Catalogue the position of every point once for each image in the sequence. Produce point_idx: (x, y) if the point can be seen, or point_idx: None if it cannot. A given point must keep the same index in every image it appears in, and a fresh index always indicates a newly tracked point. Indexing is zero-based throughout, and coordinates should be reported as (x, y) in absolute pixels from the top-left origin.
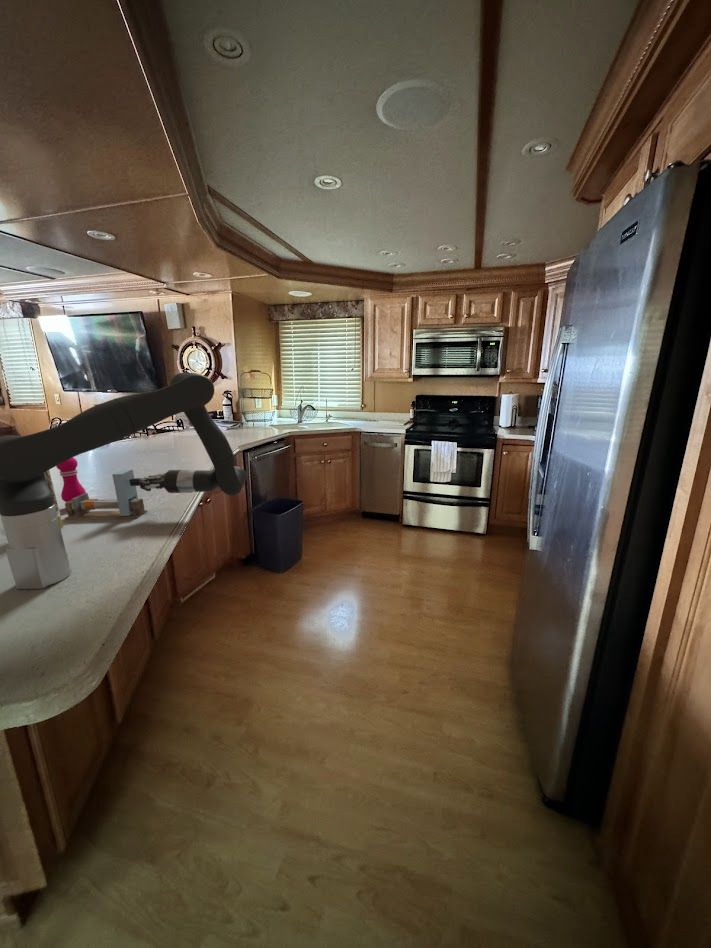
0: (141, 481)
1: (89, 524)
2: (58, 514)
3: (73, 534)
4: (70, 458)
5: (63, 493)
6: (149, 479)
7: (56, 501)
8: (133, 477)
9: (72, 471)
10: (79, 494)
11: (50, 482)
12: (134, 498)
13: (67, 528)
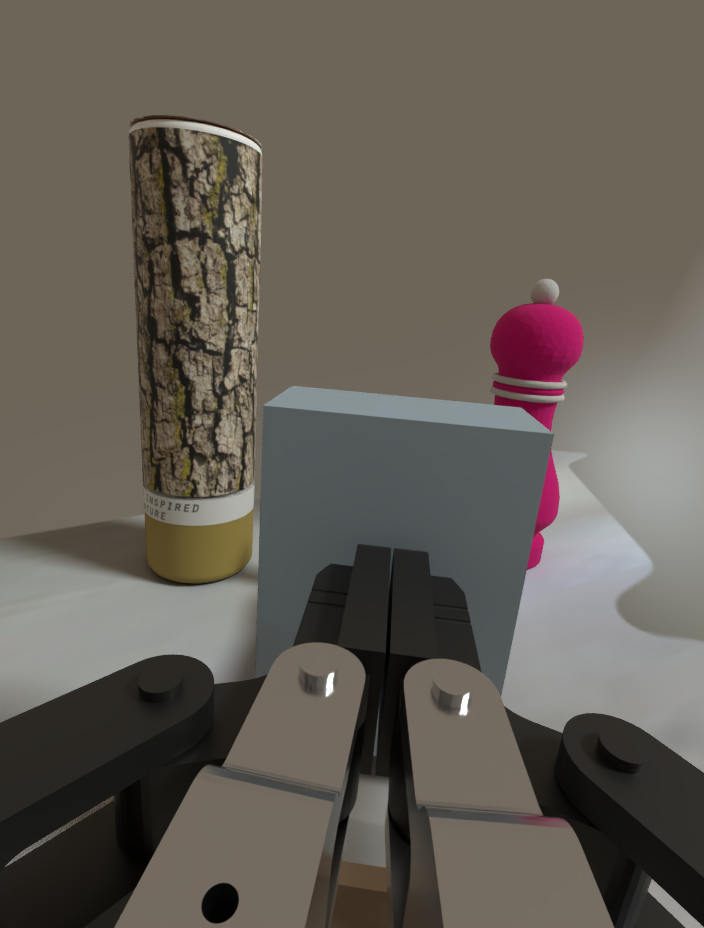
0: (40, 721)
1: (216, 660)
2: (191, 515)
3: (64, 647)
4: (544, 311)
5: None
6: (144, 906)
7: (206, 450)
8: (514, 552)
9: (520, 380)
10: None
11: (189, 336)
12: None
13: (196, 601)
